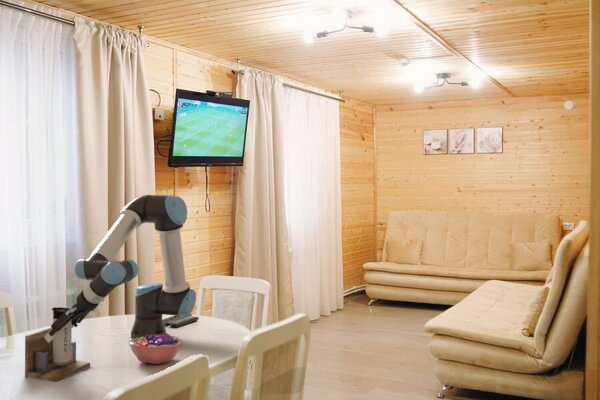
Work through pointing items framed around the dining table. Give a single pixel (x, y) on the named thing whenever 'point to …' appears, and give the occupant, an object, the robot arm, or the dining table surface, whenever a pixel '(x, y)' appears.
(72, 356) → the books
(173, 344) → the candy bowl
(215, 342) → the dining table surface
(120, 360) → the dining table surface
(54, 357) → the travel mug
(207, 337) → the dining table surface
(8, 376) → the dining table surface
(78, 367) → the shelf
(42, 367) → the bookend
